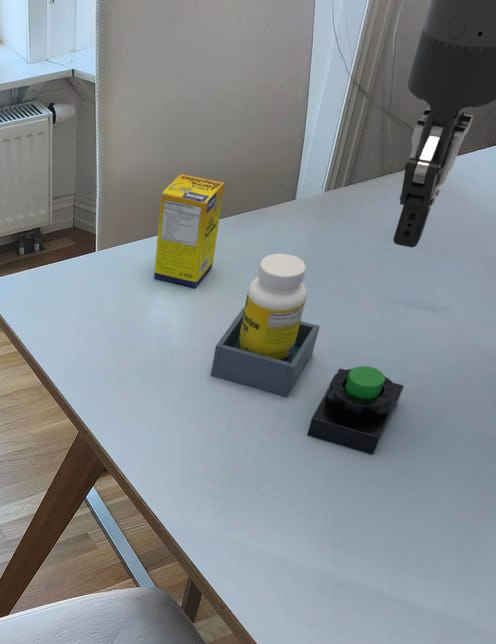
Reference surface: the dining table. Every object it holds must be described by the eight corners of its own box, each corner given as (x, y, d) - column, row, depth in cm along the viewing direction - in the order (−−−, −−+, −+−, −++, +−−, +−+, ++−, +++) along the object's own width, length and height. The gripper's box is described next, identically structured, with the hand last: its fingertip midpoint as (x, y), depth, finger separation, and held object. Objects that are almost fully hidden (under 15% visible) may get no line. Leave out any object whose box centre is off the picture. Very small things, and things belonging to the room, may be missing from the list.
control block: (397, 402, 96) (409, 370, 93) (373, 454, 91) (384, 423, 88) (334, 384, 99) (343, 353, 96) (306, 435, 93) (315, 403, 90)
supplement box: (212, 267, 115) (226, 181, 107) (195, 289, 112) (207, 202, 104) (170, 257, 117) (180, 172, 109) (152, 278, 114) (161, 192, 105)
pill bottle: (230, 343, 103) (247, 251, 94) (282, 339, 103) (304, 247, 94) (242, 374, 99) (261, 281, 90) (297, 370, 99) (320, 277, 90)
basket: (312, 355, 102) (320, 325, 99) (287, 396, 98) (294, 367, 95) (238, 335, 105) (243, 306, 102) (210, 375, 100) (215, 345, 98)
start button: (384, 385, 92) (389, 371, 91) (374, 404, 90) (379, 390, 89) (350, 376, 94) (354, 362, 92) (340, 394, 92) (344, 380, 90)
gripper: (510, 61, 64) (430, 285, 77) (539, 5, 71) (462, 219, 85) (404, 47, 66) (345, 266, 80) (444, -6, 73) (383, 204, 87)
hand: (406, 242), depth 82 cm, fingers closed
